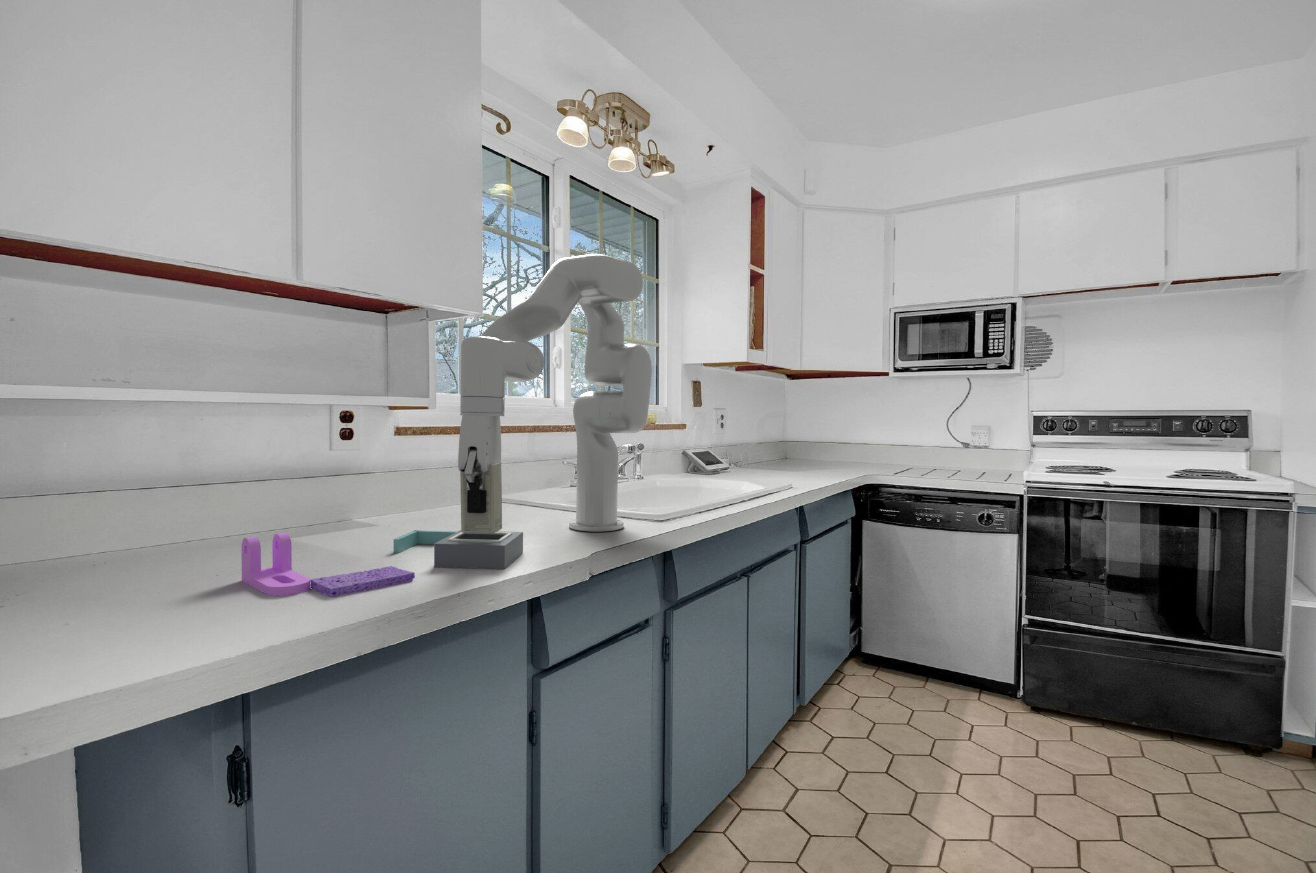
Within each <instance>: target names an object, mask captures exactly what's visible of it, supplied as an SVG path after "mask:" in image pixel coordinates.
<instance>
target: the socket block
mask: <svg viewBox="0 0 1316 873" xmlns="http://www.w3.org/2000/svg"><path fill="white" fill-rule="evenodd" d="M433 545H434V546H433V552H434V554H433V557H434V558H433V561H434V562H433V568H448V569H449V568H450V569H453V568H454V569H455V568H456V569H484V570H485V569H486V570H487V569H488V570H489V569H490V570H506V569H507V568H508V567H509V566H510V565H511V564H512V563H514V562H515V560H517V559H518V558H520V556H521V555H523V554H524V531H500V530H499V531H497V532H495V533H462V532H461V529H460V530H458V532H456V533H454V534H452V535H450V536H448V537H446V538H444V539H442V540H440V541H438V542H436V543H435V544H433ZM522 553H523V554H522ZM507 566H508V567H507Z"/></svg>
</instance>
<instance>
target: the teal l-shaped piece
mask: <svg viewBox="0 0 1316 873" xmlns="http://www.w3.org/2000/svg"><path fill="white" fill-rule="evenodd" d="M458 531H459V530H458ZM458 531H457V530H454V531H453V530H421V529H420V530H419V529H418V530H417V529H414V530H412V531H409V532H407V533H405V534H402V535H401V536H398V537H396V538H393V553H394V554H399V553H401V552H404V551H406V550H409V549H411V548H412V547H414V546H416V545H434V544H435V543H436V542H438V541H440V540H442V539H444V538H446V537H448V536H450V535H452V534H454V533H456V532H458Z"/></svg>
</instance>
